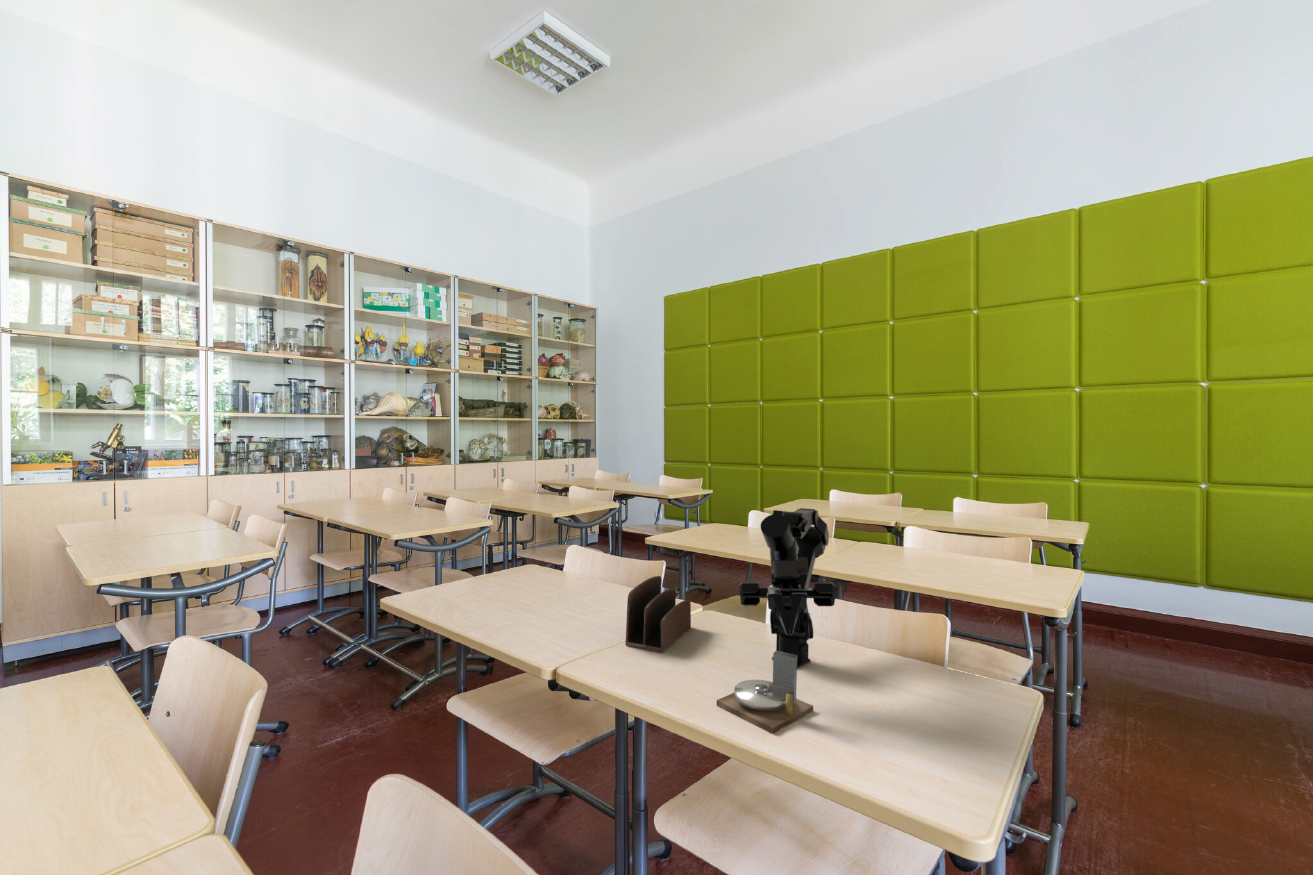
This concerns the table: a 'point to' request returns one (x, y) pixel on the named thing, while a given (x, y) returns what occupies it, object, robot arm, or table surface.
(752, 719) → the walnut board
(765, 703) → the disc and block
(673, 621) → the letter holder
